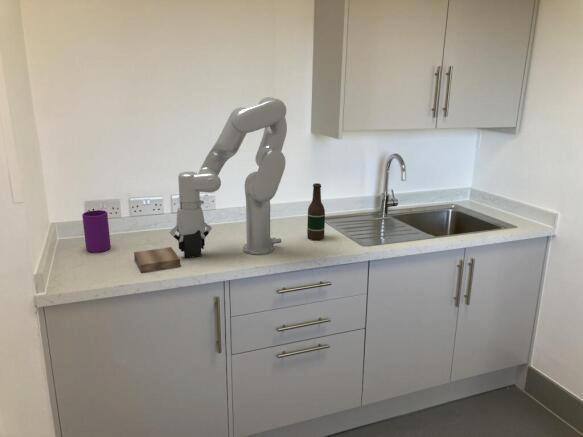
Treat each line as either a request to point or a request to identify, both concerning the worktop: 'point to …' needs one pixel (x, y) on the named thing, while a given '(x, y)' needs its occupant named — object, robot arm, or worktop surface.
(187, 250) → the battery charger
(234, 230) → the worktop surface
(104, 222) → the mug
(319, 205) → the beer bottle
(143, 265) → the plinth
